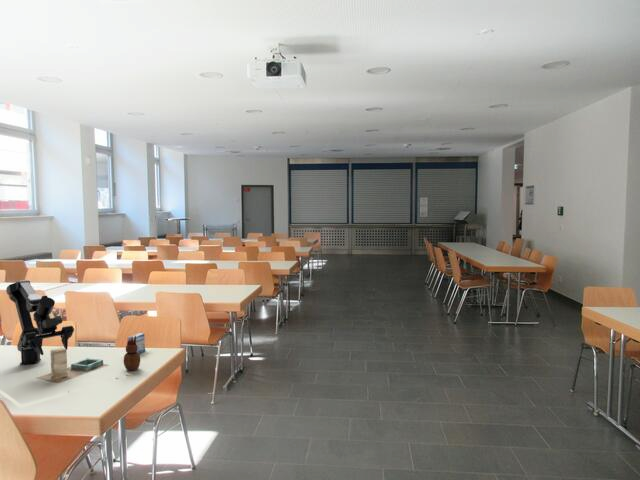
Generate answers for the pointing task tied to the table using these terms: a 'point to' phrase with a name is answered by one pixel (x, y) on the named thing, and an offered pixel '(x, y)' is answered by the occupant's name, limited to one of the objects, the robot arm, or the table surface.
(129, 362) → the wooden figurine
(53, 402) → the table surface
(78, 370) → the brown board with frame
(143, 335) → the medicine box
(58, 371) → the birch block
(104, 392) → the table surface
